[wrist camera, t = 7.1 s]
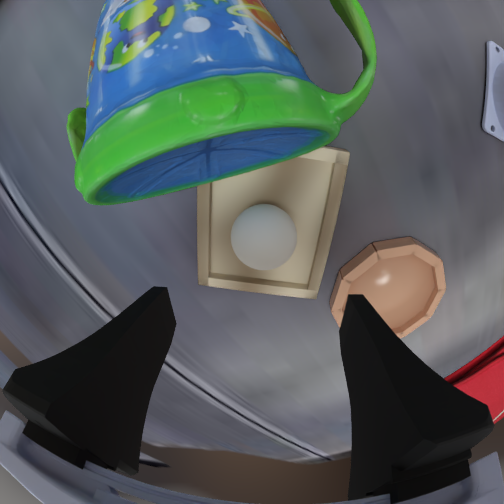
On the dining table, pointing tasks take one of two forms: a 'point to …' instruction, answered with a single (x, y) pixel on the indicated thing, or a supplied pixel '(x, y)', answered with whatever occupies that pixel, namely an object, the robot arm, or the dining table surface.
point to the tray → (286, 198)
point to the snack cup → (200, 97)
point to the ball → (263, 237)
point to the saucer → (393, 283)
